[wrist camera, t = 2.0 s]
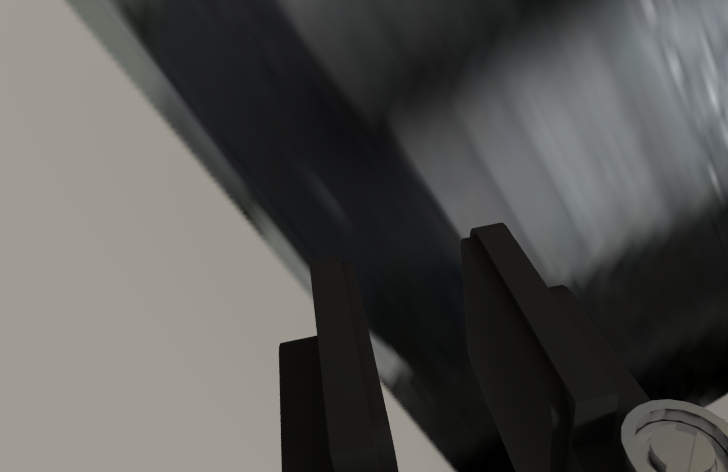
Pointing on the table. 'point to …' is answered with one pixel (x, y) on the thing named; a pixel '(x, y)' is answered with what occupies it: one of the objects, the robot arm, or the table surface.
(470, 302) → the robot arm
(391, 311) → the table surface
